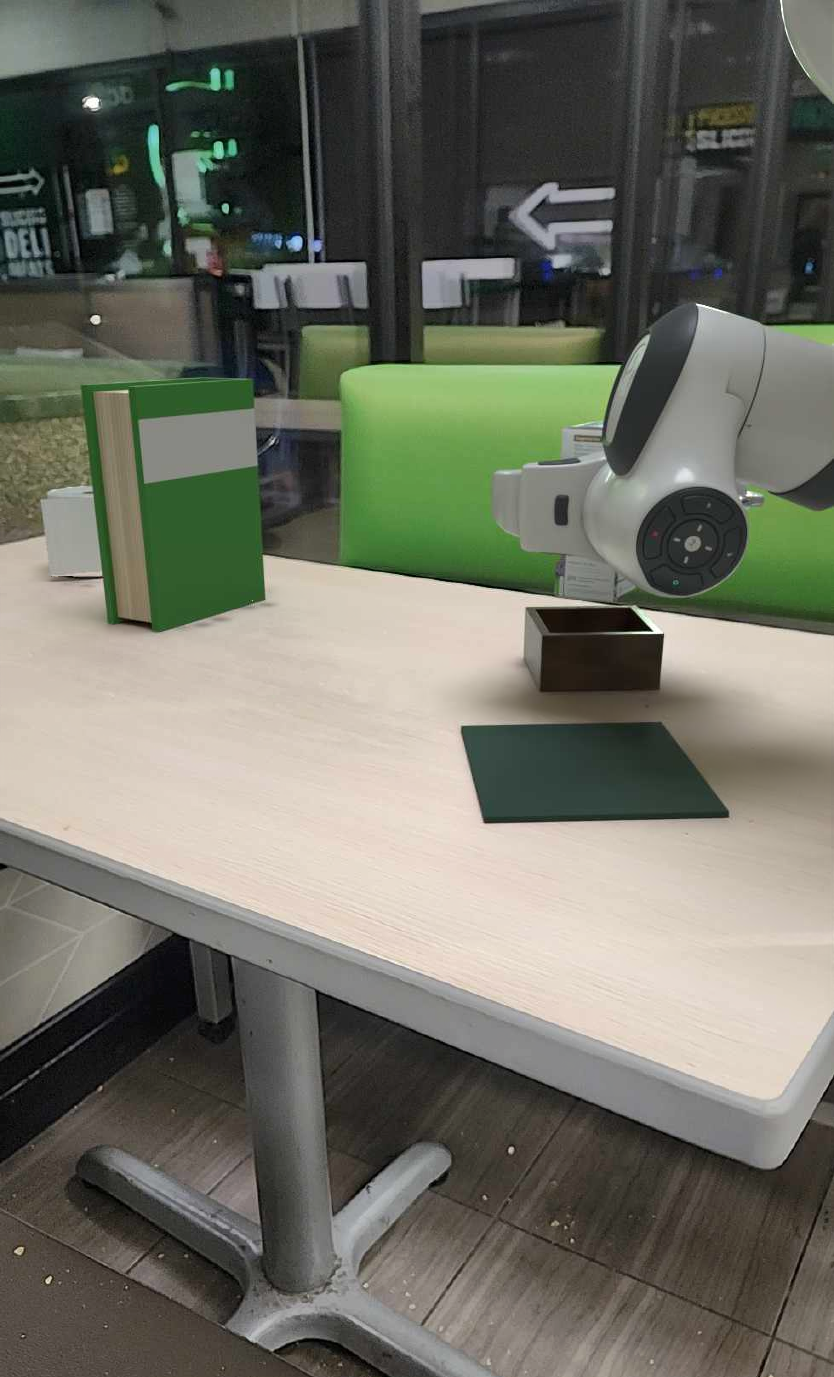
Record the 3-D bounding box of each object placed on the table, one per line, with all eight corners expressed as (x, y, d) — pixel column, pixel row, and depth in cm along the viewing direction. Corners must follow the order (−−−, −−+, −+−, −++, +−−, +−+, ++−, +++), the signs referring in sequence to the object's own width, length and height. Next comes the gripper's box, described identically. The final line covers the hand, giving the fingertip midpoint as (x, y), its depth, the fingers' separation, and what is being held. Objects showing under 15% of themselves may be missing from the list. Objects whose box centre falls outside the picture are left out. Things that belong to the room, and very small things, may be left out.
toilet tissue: (146, 561, 153) (138, 484, 149) (132, 579, 142) (123, 497, 138) (65, 562, 152) (56, 485, 148) (45, 581, 141) (34, 499, 137)
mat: (660, 726, 90) (661, 721, 90) (728, 816, 73) (729, 811, 73) (460, 730, 89) (461, 725, 89) (484, 822, 73) (484, 816, 73)
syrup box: (579, 586, 104) (585, 420, 98) (640, 592, 101) (650, 421, 96) (553, 598, 100) (558, 425, 94) (616, 604, 97) (625, 426, 91)
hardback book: (158, 632, 118) (135, 386, 108) (107, 623, 121) (80, 384, 112) (265, 599, 132) (252, 378, 122) (216, 592, 135) (200, 377, 125)
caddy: (632, 656, 109) (636, 605, 107) (659, 689, 99) (664, 633, 97) (523, 658, 108) (525, 606, 106) (539, 691, 98) (541, 635, 96)
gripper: (777, 459, 84) (722, 442, 97) (503, 465, 83) (484, 447, 96) (767, 545, 86) (715, 517, 99) (502, 552, 86) (484, 523, 98)
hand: (600, 483), depth 98 cm, fingers closed on syrup box, 8 cm apart
